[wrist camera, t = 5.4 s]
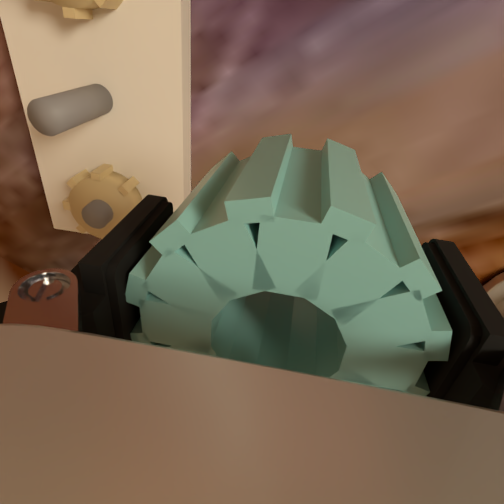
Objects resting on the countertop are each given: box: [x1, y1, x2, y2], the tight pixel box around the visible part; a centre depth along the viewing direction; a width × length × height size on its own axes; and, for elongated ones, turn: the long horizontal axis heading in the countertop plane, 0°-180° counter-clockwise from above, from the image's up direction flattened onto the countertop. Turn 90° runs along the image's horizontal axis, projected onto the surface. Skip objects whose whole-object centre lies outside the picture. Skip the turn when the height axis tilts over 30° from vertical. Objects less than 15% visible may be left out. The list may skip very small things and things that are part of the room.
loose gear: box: [125, 134, 452, 396], centre depth 10 cm, size 8×8×5 cm
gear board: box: [0, 0, 191, 239], centre depth 23 cm, size 12×23×8 cm, turn 174°
